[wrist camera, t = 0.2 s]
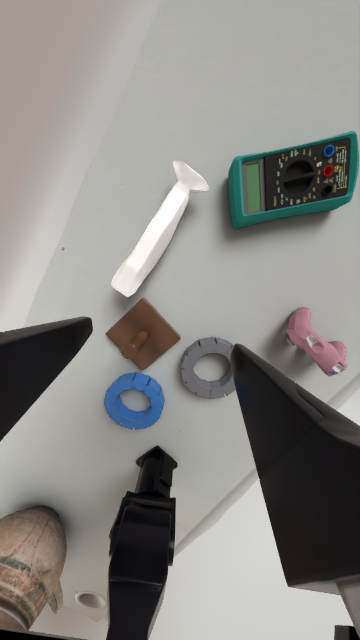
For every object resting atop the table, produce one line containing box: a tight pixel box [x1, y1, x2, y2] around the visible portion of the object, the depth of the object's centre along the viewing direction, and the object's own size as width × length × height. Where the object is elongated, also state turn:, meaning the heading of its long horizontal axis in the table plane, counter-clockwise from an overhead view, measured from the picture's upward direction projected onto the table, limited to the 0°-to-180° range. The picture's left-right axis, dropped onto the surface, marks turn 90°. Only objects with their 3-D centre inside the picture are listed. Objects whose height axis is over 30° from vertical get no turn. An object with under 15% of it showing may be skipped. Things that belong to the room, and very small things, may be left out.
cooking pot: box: [0, 506, 67, 631], centre depth 30 cm, size 25×19×12 cm
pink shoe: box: [287, 307, 347, 376], centre depth 22 cm, size 10×5×7 cm, turn 49°
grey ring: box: [181, 337, 236, 399], centre depth 25 cm, size 10×10×2 cm
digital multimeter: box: [229, 131, 359, 228], centre depth 19 cm, size 7×15×3 cm, turn 99°
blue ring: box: [104, 372, 164, 429], centre depth 27 cm, size 10×10×2 cm
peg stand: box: [106, 298, 181, 370], centre depth 22 cm, size 9×9×7 cm
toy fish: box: [111, 160, 209, 297], centre depth 20 cm, size 6×18×4 cm, turn 146°
